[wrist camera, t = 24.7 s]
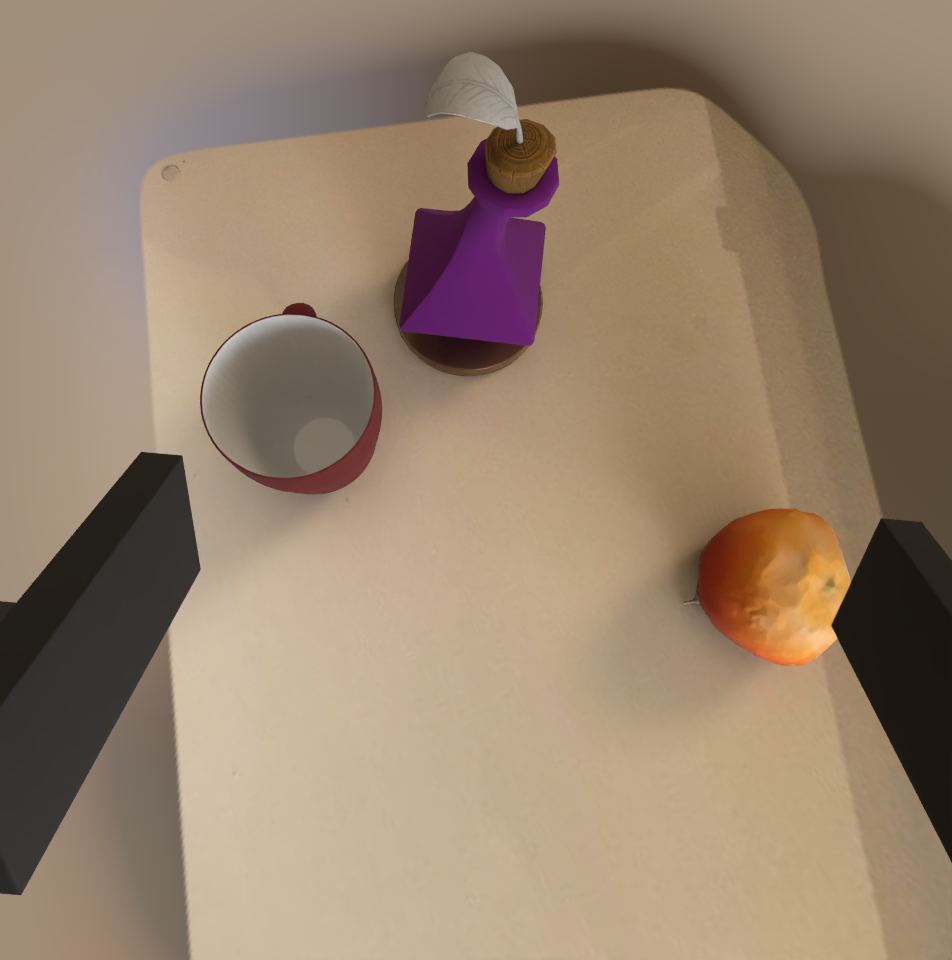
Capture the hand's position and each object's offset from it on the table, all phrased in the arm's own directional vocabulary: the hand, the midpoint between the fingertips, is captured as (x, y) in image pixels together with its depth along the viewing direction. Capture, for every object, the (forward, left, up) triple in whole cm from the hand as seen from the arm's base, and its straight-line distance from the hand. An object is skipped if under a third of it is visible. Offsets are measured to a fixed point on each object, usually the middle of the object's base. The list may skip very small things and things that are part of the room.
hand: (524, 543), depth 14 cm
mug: (-11, +8, -28) cm, 32 cm away
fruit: (+15, +4, -28) cm, 32 cm away
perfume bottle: (-4, +18, -27) cm, 33 cm away
